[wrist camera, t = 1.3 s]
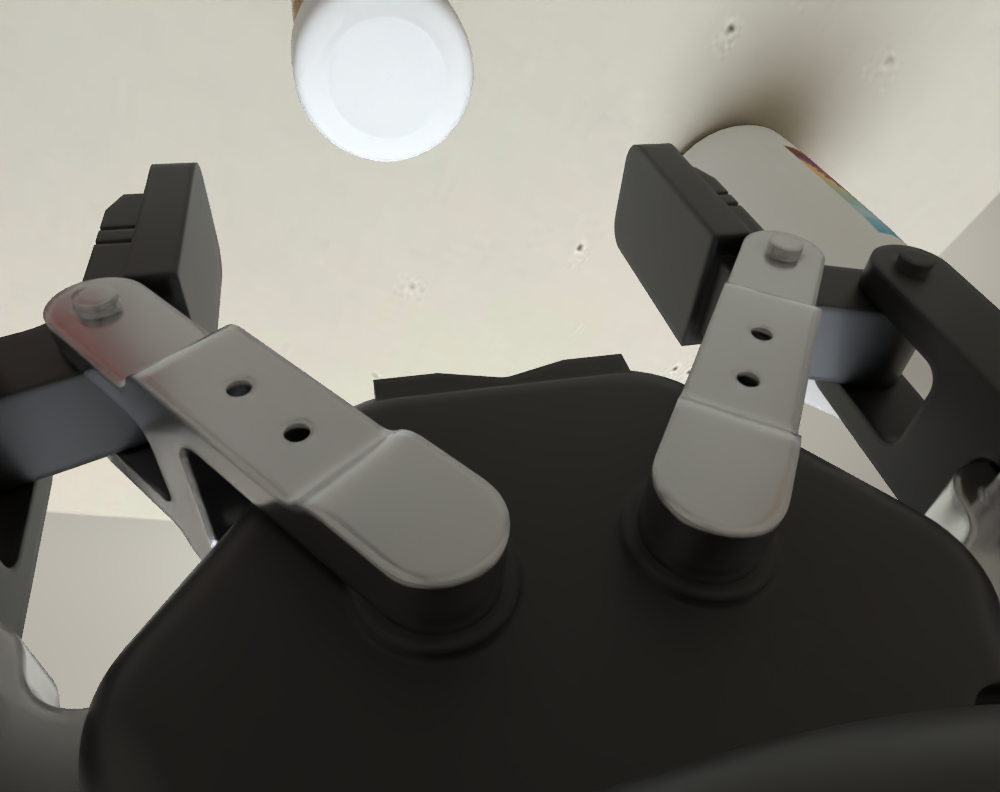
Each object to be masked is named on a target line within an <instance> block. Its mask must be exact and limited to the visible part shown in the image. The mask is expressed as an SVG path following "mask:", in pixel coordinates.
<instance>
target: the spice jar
mask: <svg viewBox="0 0 1000 792" xmlns="http://www.w3.org/2000/svg"><path fill="white" fill-rule="evenodd" d="M292 12H293V22H294V26H293V31H292V39H291V56H292V67H293V75H294V80H295V84H296V89H297V93H298V95H299V98H300V101H301V104H302V106H303V108H304V110H305V112H306V113H307V115H308V117H309V118H310V120H311V121H312V123H313V124H314V125H315V127H316V128H317V129H318V130H319V131H320V132H321V133H322V134H323V135H324V136H325V137H326V138H327V139H328V140H329V141H330V142H332V143H333V144H334V145H336V146H337V147H339V148H341V149H342V150H344V151H346V152H348V153H350V154H352V155H355V156H358V157H361V158H364V159H368V160H375V161H386V162H388V161H399V160H404V159H409V158H412V157H415V156H418V155H420V154H422V153H425V152H427V151H428V150H430V149H432V148H433V147H435V146H436V145H438V144H439V143H440V142H441V141H443V140H444V139H445V138H446V137H447V136H448V135H449V134H450V133H451V131H452V130H453V129H454V128H455V126H456V125H457V124H458V122H459V121H460V119H461V117H462V115H463V113H464V111H465V109H466V107H467V104H468V101H469V99H470V95H471V90H472V84H473V73H474V68H473V58H472V52H471V47H470V44H469V40H468V37H467V35H466V32H465V30H464V28H463V26H462V24H461V22H460V20H459V18H458V16H457V14H456V12H455V11H454V9H453V7H452V6H451V4H450V3H449V1H448V0H292Z"/></svg>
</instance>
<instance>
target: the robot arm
mask: <svg viewBox="0 0 1000 792" xmlns="http://www.w3.org/2000/svg"><path fill="white" fill-rule="evenodd" d="M100 229H101V231H99V232H98V235H97V238H96V245H94V247H93V251H92V254H91V257H90V260H89V263H88V266H87V269H86V272H85V275H84V278H83V281H82V282H80V283H78V284H75V285H72V286H70V287H68V288H66V289H64V290H62V291H61V292H59V293H58V294H56V295H55V296H54V297H53V298H52V299H51V300H50V301H49V302H48V303H47V305H46V306H45V309H44V312H43V318H44V320H45V324H43V325H41V326H38V327H35V328H33V329H30V330H26V331H23V332H20V333H16V334H12V335H8V336H4V337H1V338H0V792H1000V310H999V309H998V308H997V307H996V306H995V305H994V304H992V303H991V302H990V301H989V300H988V299H987V298H986V297H985V296H984V295H982V294H981V293H980V292H979V291H978V290H977V289H976V288H975V287H974V286H972V285H971V284H970V283H969V282H968V281H967V280H966V279H965V278H964V277H963V276H961V275H960V274H959V273H958V272H957V271H956V270H955V269H953V268H952V267H951V266H950V265H949V264H948V263H947V262H945V261H944V260H943V259H941V258H939V257H938V256H936V255H934V254H932V253H929V252H927V251H924V250H922V249H919V248H915V247H911V246H905V245H883V246H880V247H877V248H876V249H874V250H873V252H872V253H871V255H870V257H869V260H868V262H867V264H866V266H865V268H864V270H863V269H855V268H846V267H838V266H829V265H824V264H825V257H824V254H823V252H822V251H821V250H820V249H819V248H818V247H817V246H816V245H815V244H813V243H812V242H810V241H808V240H806V239H804V238H802V237H800V236H797V235H794V234H791V233H787V232H782V231H774V230H764V229H763V228H762V227H761V226H760V225H759V224H758V223H757V222H756V221H755V220H754V219H753V218H752V217H751V215H750V214H749V213H748V212H747V211H746V210H745V209H744V208H743V207H742V206H741V205H738V202H737V201H736V200H735V198H734V197H733V196H732V195H731V194H729V195H728V191H727V190H726V189H725V188H724V187H723V186H722V185H721V184H720V182H719V181H718V180H717V179H716V178H714V177H712V176H710V175H709V174H707V173H705V172H703V171H701V170H700V169H698V168H696V167H693V166H692V165H691V164H690V163H689V162H688V161H687V160H686V159H685V158H684V157H683V155H682V154H681V153H680V152H679V151H678V150H677V149H676V148H675V147H674V146H673V145H672V144H670V143H665V144H642V145H633V146H632V147H631V148H630V150H629V152H628V154H627V158H626V162H625V168H624V173H623V178H622V184H621V189H620V194H619V200H618V205H617V210H616V216H615V238H616V242H617V245H618V248H619V249H620V251H621V253H622V254H623V256H624V257H625V259H626V260H627V262H628V263H629V265H630V267H631V268H632V270H633V271H634V273H635V274H636V276H637V277H638V279H639V281H640V282H641V284H642V285H643V287H644V288H645V290H646V291H647V293H648V295H649V296H650V298H651V299H652V301H653V302H654V304H655V305H656V307H657V309H658V310H659V312H660V313H661V315H662V316H663V318H664V320H665V321H666V323H667V324H668V326H669V327H670V329H671V330H672V332H673V334H674V335H675V337H676V338H677V340H678V341H679V343H680V344H681V346H686V345H696V344H701V345H700V348H699V350H698V353H697V356H696V358H695V361H694V363H693V366H692V368H691V371H690V373H689V376H688V378H687V381H686V383H685V385H684V384H682V383H680V382H677V381H675V380H672V379H669V378H666V377H662V376H658V375H654V374H650V373H644V372H637V371H630V369H629V367H628V366H627V364H626V362H625V360H624V358H623V356H622V355H621V354H615V355H605V356H596V357H587V358H577V359H568V360H562V361H558V362H555V363H552V364H549V365H546V366H542V367H539V368H536V369H533V370H529V371H526V372H523V373H520V374H517V375H513V376H510V377H486V376H471V375H456V374H442V373H435V374H426V375H416V376H407V377H397V378H388V379H378V380H373V381H374V394H375V399H372V400H369V401H366V402H363V403H361V404H359V405H356V406H354V407H353V406H352V405H350V404H349V403H348V402H346V401H345V400H343V399H342V398H341V397H339V396H338V395H336V394H335V393H333V392H332V391H331V390H329V389H328V388H326V387H325V386H323V385H322V384H321V383H319V382H318V381H316V380H315V379H313V378H312V377H311V376H309V375H308V374H306V373H305V372H303V371H302V370H301V369H299V368H298V367H296V366H295V365H294V364H292V363H291V362H289V361H288V360H286V359H285V358H284V357H282V356H281V355H279V354H278V353H276V352H275V351H274V350H272V349H271V348H269V347H268V346H266V345H265V344H264V343H262V342H261V341H259V340H258V339H256V338H255V337H254V336H252V335H251V334H249V333H248V332H247V331H245V330H244V329H242V328H240V327H239V326H237V325H233V324H229V325H226V326H225V327H223V328H221V329H219V330H218V318H219V306H220V294H221V282H222V264H221V256H220V249H219V244H218V240H217V235H216V231H215V227H214V223H213V218H212V214H211V210H210V206H209V202H208V197H207V193H206V189H205V185H204V180H203V176H202V173H201V170H200V167H199V165H198V163H174V164H152V165H151V167H150V171H149V175H148V179H147V183H146V186H145V190H144V194H125V195H123V196H121V197H120V198H119V199H118V200H117V201H116V202H115V203H113V204H112V205H111V206H110V207H109V208H108V209H107V210H106V211H105V214H104V217H103V220H102V223H101V226H100ZM915 350H917V351H918V352H919V353H920V354H921V355H922V357H923V358H924V359H925V360H926V361H927V362H928V364H929V366H930V368H931V371H932V377H933V382H932V387H931V390H930V392H929V394H928V395H927V397H926V398H925V400H924V399H923V398H922V397H921V396H920V394H919V393H918V392H917V391H916V390H915V389H914V387H913V386H912V385H911V384H910V383H909V382H908V380H907V379H906V378H905V377H904V376H903V375H902V372H903V371H904V369H905V367H906V366H907V364H908V362H909V360H910V359H911V357H912V355H913V354H914V352H915ZM809 379H810V380H815V383H816V385H817V387H818V388H819V390H820V391H821V393H822V394H823V395H824V397H825V398H826V400H827V401H828V402H829V404H830V405H831V407H832V408H833V409H834V411H835V412H836V414H837V415H838V416H839V418H840V419H841V420H842V422H843V423H844V425H845V426H846V428H847V429H848V430H849V432H850V433H851V435H852V436H853V437H854V439H855V440H856V442H857V443H858V444H859V446H860V447H861V449H862V450H863V451H864V452H865V454H866V456H867V457H868V458H869V460H870V461H871V463H872V464H873V465H874V467H875V468H876V470H877V471H878V472H879V474H880V475H881V477H882V478H883V479H884V481H885V482H886V484H887V485H888V486H889V488H890V489H891V490H892V492H893V493H894V494H895V496H896V497H897V499H898V500H897V499H895V498H893V497H891V496H889V495H888V494H886V493H884V492H882V491H880V490H878V489H877V488H875V487H873V486H871V485H869V484H867V483H865V482H864V481H862V480H860V479H858V478H856V477H854V476H853V475H851V474H849V473H847V472H845V471H844V470H842V469H840V468H838V467H836V466H834V465H832V464H831V463H829V462H827V461H825V460H823V459H822V458H820V457H818V456H816V455H814V454H812V453H811V452H809V451H807V450H805V449H803V448H801V447H800V446H801V436H800V435H799V434H798V430H799V424H800V420H801V415H802V410H803V404H804V400H805V395H806V390H807V385H808V380H809ZM107 456H108V458H109V459H110V461H111V462H112V463H113V464H114V465H115V466H116V467H117V468H118V469H120V470H121V471H122V472H123V473H124V474H125V475H126V476H127V477H128V478H129V479H130V480H131V481H132V482H133V483H134V484H135V485H136V486H137V487H138V488H139V489H140V490H141V491H142V492H144V493H145V494H146V495H147V496H148V497H149V498H150V499H151V500H152V501H153V502H154V503H155V504H156V505H157V506H158V507H159V508H160V509H161V510H162V511H163V512H164V513H165V514H166V515H168V516H169V517H170V518H171V519H172V520H173V521H174V522H175V524H176V525H177V526H178V527H179V528H180V530H181V531H182V532H183V534H184V535H185V537H186V538H187V540H188V542H189V543H190V545H191V546H192V548H193V549H194V551H195V552H196V554H197V555H198V556H199V558H200V559H201V560H202V561H201V562H200V563H199V564H198V565H197V566H196V568H195V569H194V570H193V571H192V572H191V573H190V574H189V576H188V577H187V578H186V579H185V580H184V581H183V582H182V584H181V585H180V586H179V587H178V588H177V589H176V590H175V592H174V593H173V594H172V595H171V596H170V597H169V599H168V600H167V601H166V602H165V603H164V604H163V605H162V606H161V608H160V609H159V610H158V611H157V612H156V613H155V614H154V616H153V617H152V618H151V619H150V620H149V621H148V622H147V623H146V625H145V626H144V627H143V628H142V629H141V631H140V632H139V633H138V634H137V635H136V636H135V637H134V638H133V639H132V641H131V642H130V643H129V644H128V645H127V646H126V647H125V649H124V650H123V651H122V652H121V654H120V655H119V656H118V657H117V659H116V660H115V661H114V663H113V664H112V665H111V667H110V668H109V670H108V671H107V673H106V674H105V676H104V678H103V679H102V681H101V683H100V685H99V687H98V689H97V691H96V693H95V695H94V697H93V699H92V702H91V704H90V707H89V708H84V709H65V708H60V705H59V693H58V689H57V687H56V685H55V683H54V681H53V679H52V678H51V677H50V676H49V675H48V673H47V672H46V671H45V669H44V668H43V667H42V665H41V664H40V663H39V662H38V661H37V659H36V658H35V657H34V655H33V654H32V653H31V652H30V650H29V649H28V648H27V646H26V645H25V644H24V643H23V641H22V640H21V639H22V633H23V629H24V623H25V618H26V613H27V608H28V603H29V598H30V593H31V588H32V582H33V577H34V572H35V567H36V562H37V557H38V551H39V546H40V541H41V536H42V531H43V526H44V521H45V515H46V510H47V505H48V500H49V495H50V490H51V485H52V477H53V475H55V474H58V473H60V472H63V471H66V470H69V469H72V468H75V467H78V466H81V465H84V464H86V463H89V462H92V461H95V460H98V459H101V458H104V457H107Z"/></svg>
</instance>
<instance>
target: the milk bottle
mask: <svg viewBox="0 0 1000 792" xmlns="http://www.w3.org/2000/svg"><path fill="white" fill-rule="evenodd" d="M683 157H684V158H685V159H686V160H687V161H688V162H689V163H690V164H691V165H692V166H693V167H696V168H698V169H700V170H701V171H703V172H705V173H707V174H709V175H710V176H712V177H714V178H716V179H717V180H718V181H719V182H720V184H721V185H722V186H723V187H724V188H725V189H726V190H727V191H728V195H729V194H731V195H732V196H733V197H734V198H735V200H736V201H737V202H738V205H741V206H742V207H743V208H744V209H745V210H746V211H747V212H748V213H749V214H750V215H751V217H752V218H753V219H754V220H755V221H756V222H757V223H758V224H759V225H760V226H761V227H762V228H763V229H764V230H774V231H782V232H787V233H791V234H794V235H797V236H800V237H802V238H804V239H806V240H808V241H810V242H812V243H813V244H815V245H816V246H817V247H818V248H819V249H820V250H821V251H822V252H823V254H824V257H825V264H824V265H829V266H838V267H846V268H855V269H863V270H864V268H865V266H866V264H867V262H868V260H869V257H870V255H871V253H872V252H873V250H874V249H876V248H877V247H880V246H883V245H905V246H907V245H906V244H905V243H904V242H903V241H902V240H901V239H900V238H899V237H898V236H897V235H896V234H895V233H894V232H893V231H892V230H891V229H890V228H889V227H888V226H886V225H885V224H884V223H883V222H882V221H881V220H880V219H878V218H877V217H876V216H875V215H874V214H873V213H872V212H871V211H869V210H868V209H867V208H866V207H865V206H864V205H863V204H861V203H860V202H859V201H858V200H857V199H856V198H855V197H853V196H852V195H851V194H850V193H849V192H848V191H847V190H845V189H844V188H843V187H842V186H841V185H839V184H838V183H837V182H836V181H835V180H834V179H832V178H831V177H830V176H829V175H828V174H827V173H825V172H824V171H823V170H822V169H821V168H820V167H818V166H817V165H816V164H815V163H814V162H813V161H811V160H810V159H809V158H808V157H807V156H805V155H804V154H803V153H802V152H801V151H800V150H798V149H797V148H796V147H795V146H794V145H792V144H791V143H790V142H789V141H787V140H786V139H785V138H783V137H782V136H781V135H779V134H778V133H777V132H775V131H773V130H771V129H769V128H766V127H762V126H755V125H744V126H733V127H729V128H726V129H721V130H719V131H717V132H715V133H713V134H710V135H708V136H707V137H705V138H704V139H702V140H701V141H699V142H698V143H696V144H695V145H694V146H692V147H691V148H690V149H689V150H688V151H687V152H686V153H685V154H683ZM902 375H903V376H904V377H905V378H906V379H907V380H908V382H909V383H910V384H911V385H912V386H913V387H914V389H915V390H916V391H917V392H918V393H919V394H920V396H921V397H922V398H923V399H924V400H925V398H926V397H927V395H928V394H929V392H930V390H931V387H932V382H933V377H932V371H931V368H930V366H929V364H928V362H927V361H926V360H925V359H924V358H923V357H922V355H921V354H920V353H919V352H918V351H917V350H915V352H914V354H913V355H912V357H911V359H910V360H909V362H908V364H907V366H906V367H905V369H904V371H903V372H902ZM804 402H805V403H807V404H809V405H811V406H813V407H815V408H818V409H820V410H822V411H824V412H827V413H829V414H831V415H833V416H835V417H837V418H839V416H838V415H837V414H836V412H835V411H834V409H833V408H832V407H831V405H830V404H829V402H828V401H827V400H826V398H825V397H824V395H823V394H822V393H821V391H820V390H819V388H818V387H817V385H816V383H815V380H810V379H809V380H808V385H807V390H806V395H805V400H804ZM839 419H840V418H839Z"/></svg>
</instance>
